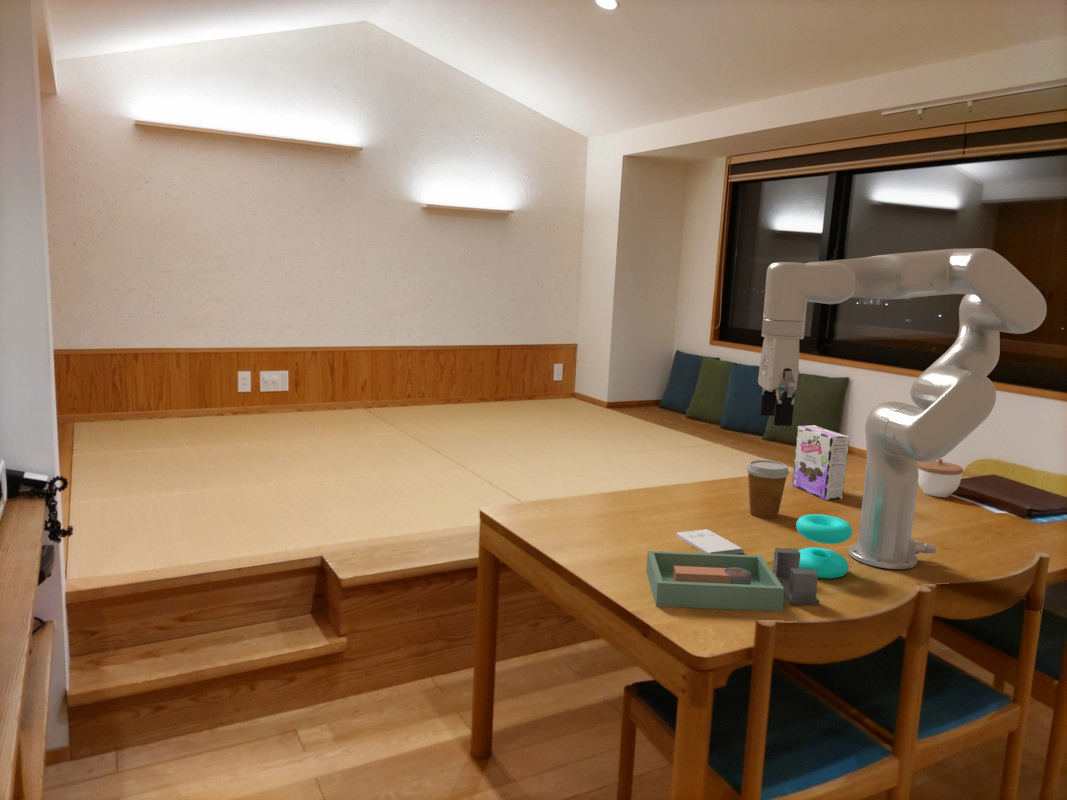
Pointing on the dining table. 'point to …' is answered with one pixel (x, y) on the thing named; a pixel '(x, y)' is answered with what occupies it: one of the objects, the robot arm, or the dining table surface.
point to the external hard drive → (709, 542)
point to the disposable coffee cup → (766, 487)
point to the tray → (754, 597)
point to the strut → (712, 575)
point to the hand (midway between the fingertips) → (775, 420)
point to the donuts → (828, 533)
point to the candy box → (820, 462)
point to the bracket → (795, 578)
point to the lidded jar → (939, 477)
